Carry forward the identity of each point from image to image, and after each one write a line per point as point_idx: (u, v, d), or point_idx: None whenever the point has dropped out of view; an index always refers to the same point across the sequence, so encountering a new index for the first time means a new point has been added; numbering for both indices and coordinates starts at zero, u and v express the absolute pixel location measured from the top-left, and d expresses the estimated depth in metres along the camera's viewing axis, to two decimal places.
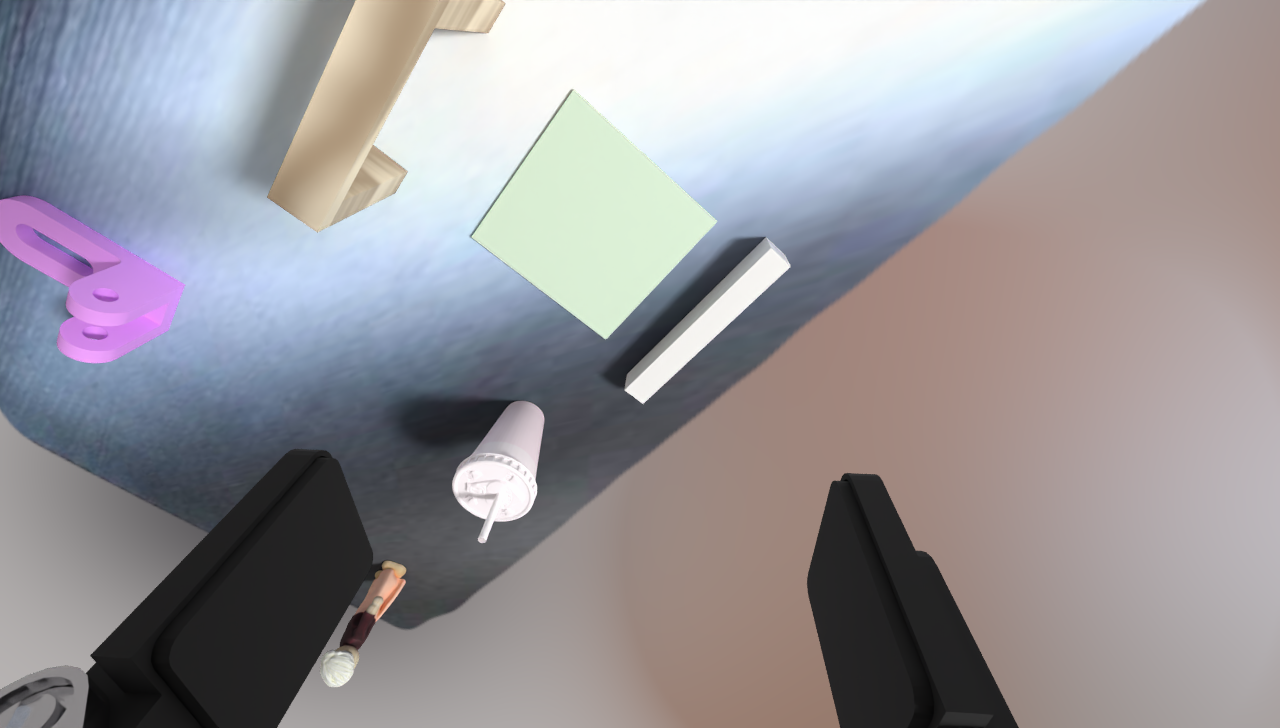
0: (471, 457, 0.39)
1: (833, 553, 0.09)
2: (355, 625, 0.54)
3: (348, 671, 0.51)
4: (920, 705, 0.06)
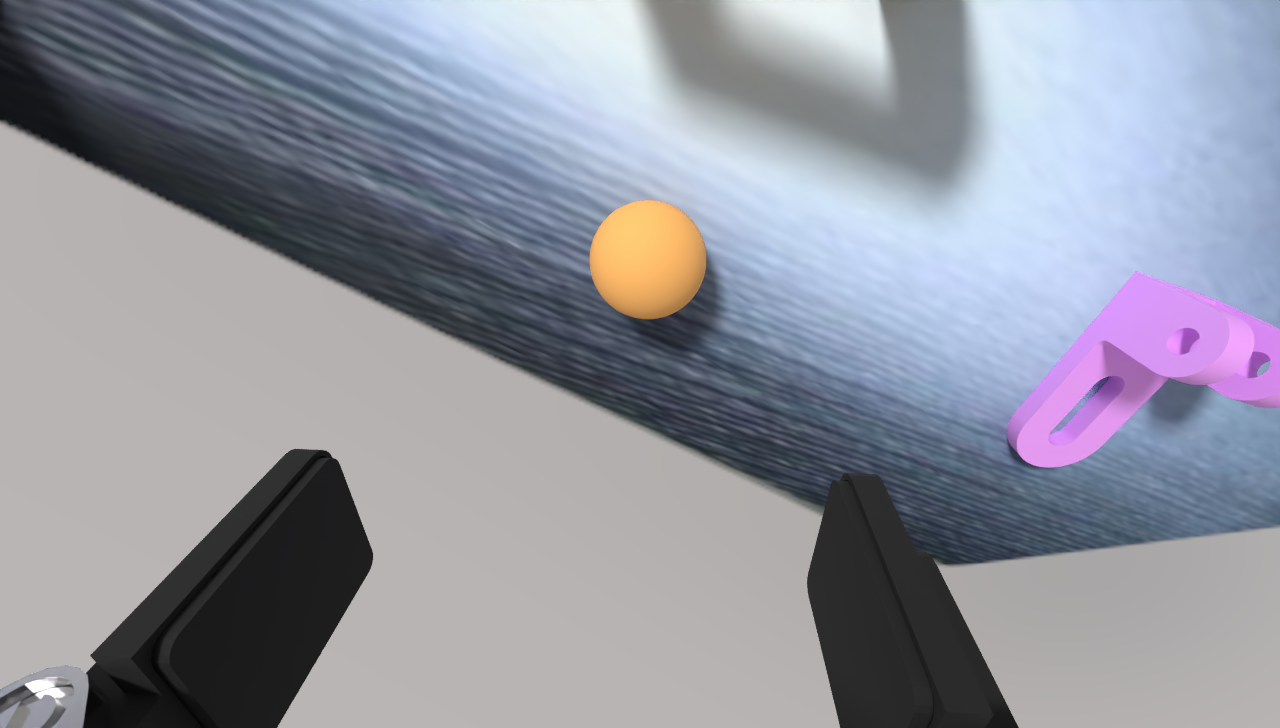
0: None
1: (833, 553, 0.09)
2: None
3: None
4: (920, 705, 0.06)
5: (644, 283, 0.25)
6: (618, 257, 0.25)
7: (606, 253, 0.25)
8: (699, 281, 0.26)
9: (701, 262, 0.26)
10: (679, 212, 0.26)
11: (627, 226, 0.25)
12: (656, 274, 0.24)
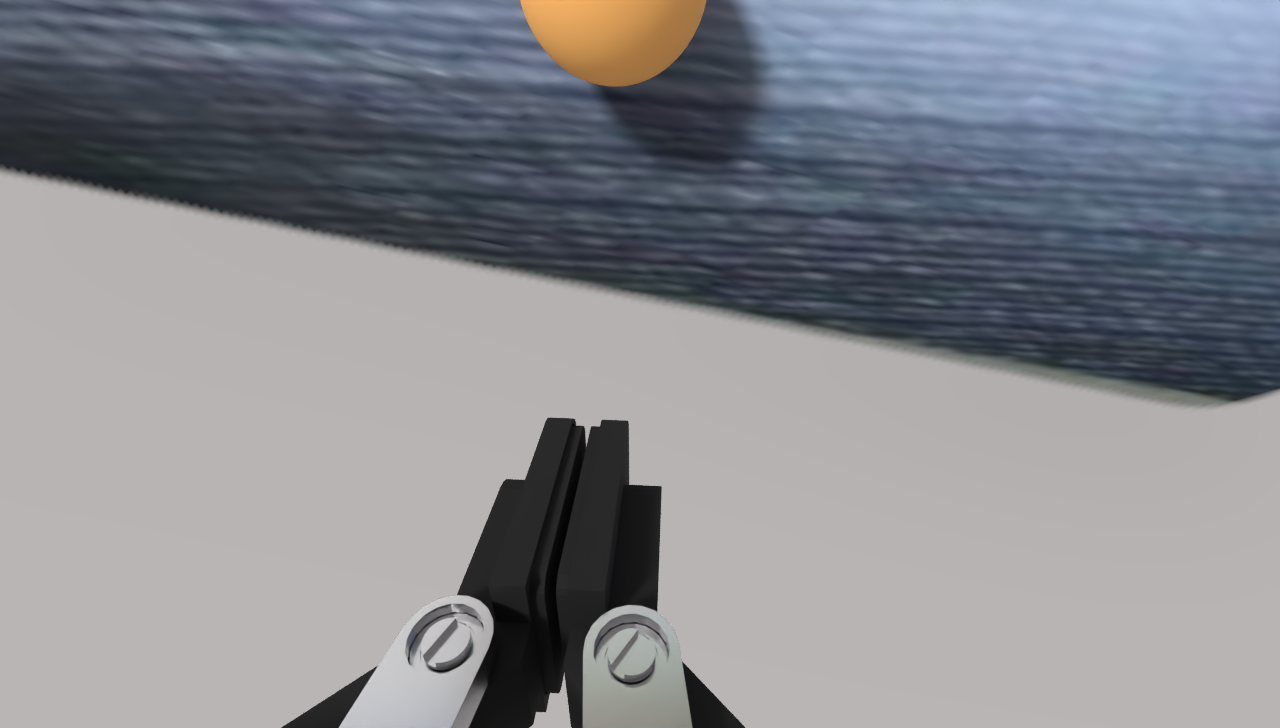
0: None
1: None
2: None
3: None
4: (561, 589, 0.07)
5: None
6: None
7: None
8: None
9: None
10: None
11: None
12: None
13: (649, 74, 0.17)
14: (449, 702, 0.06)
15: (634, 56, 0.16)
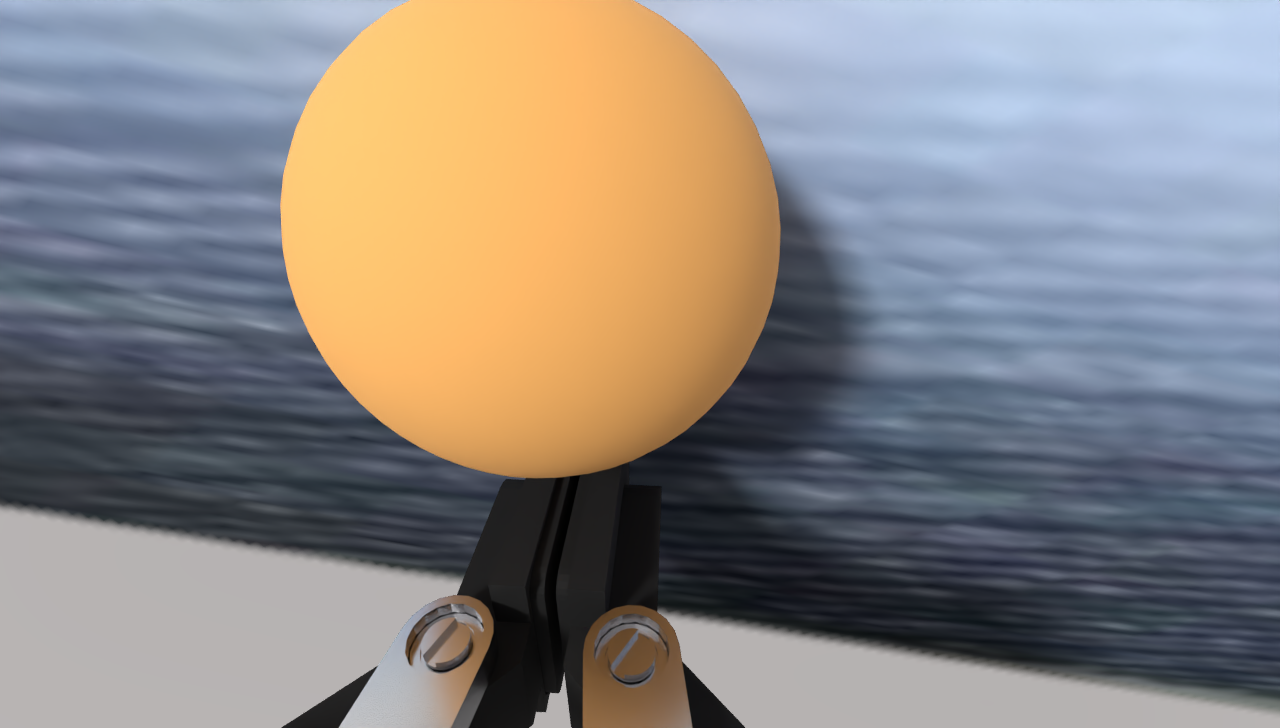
0: None
1: None
2: None
3: None
4: (561, 589, 0.07)
5: (470, 367, 0.05)
6: (315, 278, 0.05)
7: (291, 277, 0.05)
8: (766, 261, 0.06)
9: (744, 167, 0.05)
10: None
11: (315, 111, 0.05)
12: (506, 301, 0.04)
13: None
14: (449, 700, 0.06)
15: (596, 470, 0.06)
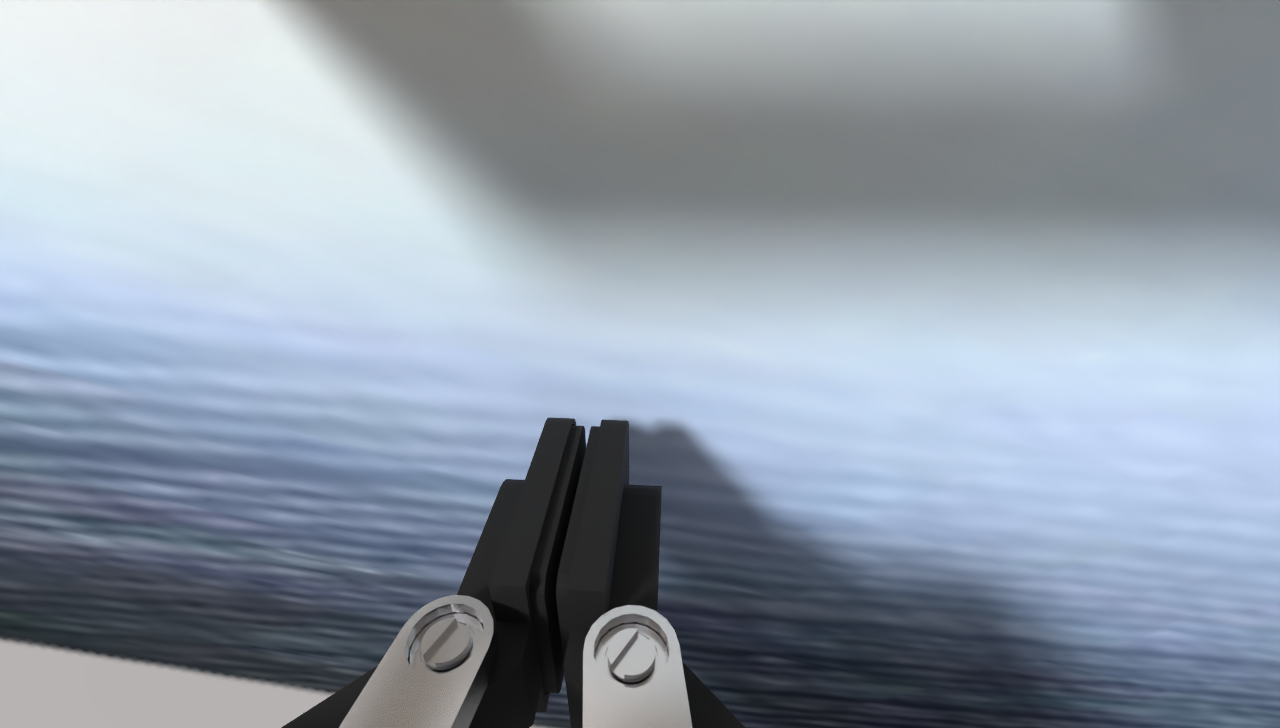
0: None
1: None
2: None
3: None
4: (561, 589, 0.07)
5: None
6: None
7: None
8: None
9: None
10: None
11: None
12: None
13: None
14: (449, 702, 0.06)
15: None
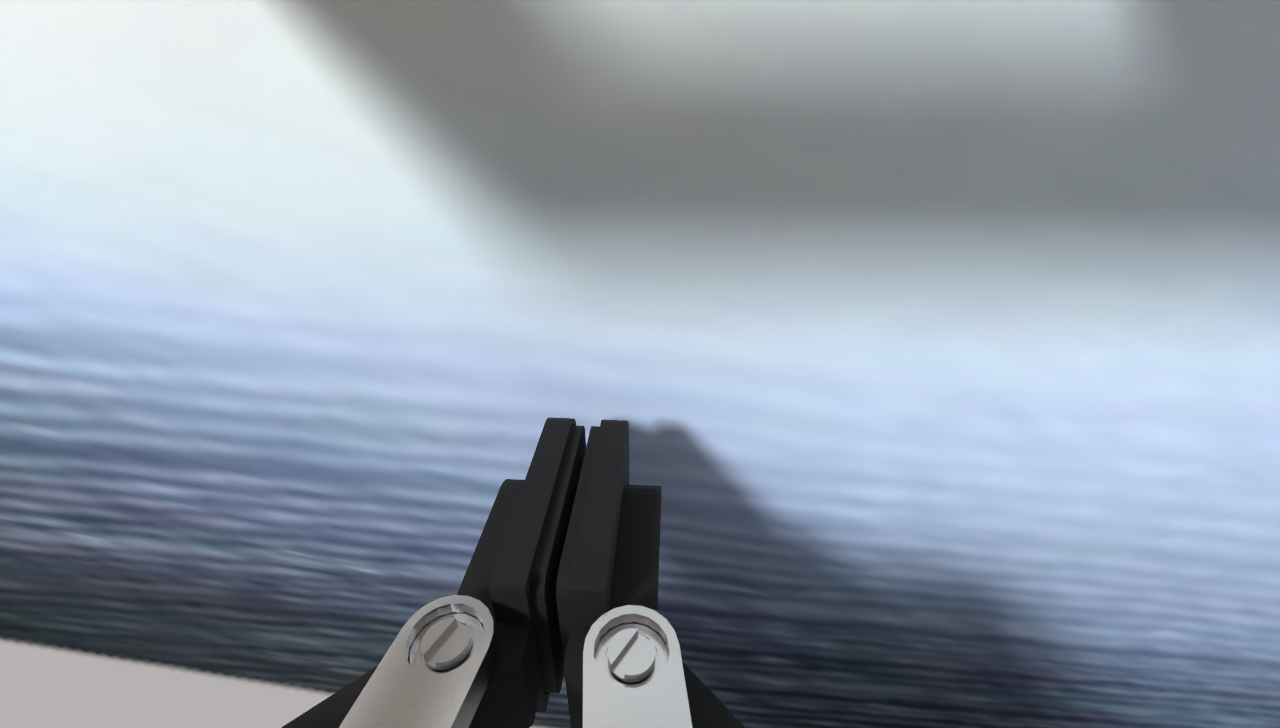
0: None
1: None
2: None
3: None
4: (561, 589, 0.07)
5: None
6: None
7: None
8: None
9: None
10: None
11: None
12: None
13: None
14: (449, 702, 0.06)
15: None
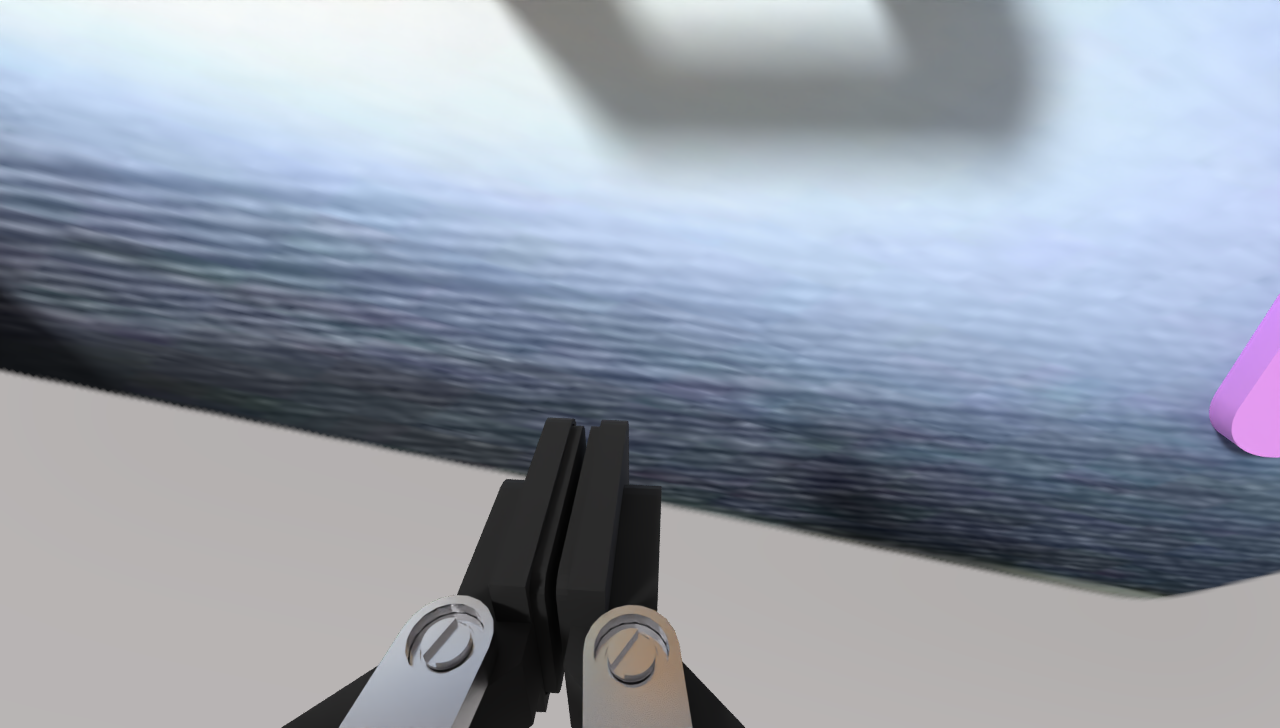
0: None
1: None
2: None
3: None
4: (561, 589, 0.07)
5: None
6: None
7: None
8: None
9: None
10: None
11: None
12: None
13: None
14: (450, 702, 0.06)
15: None
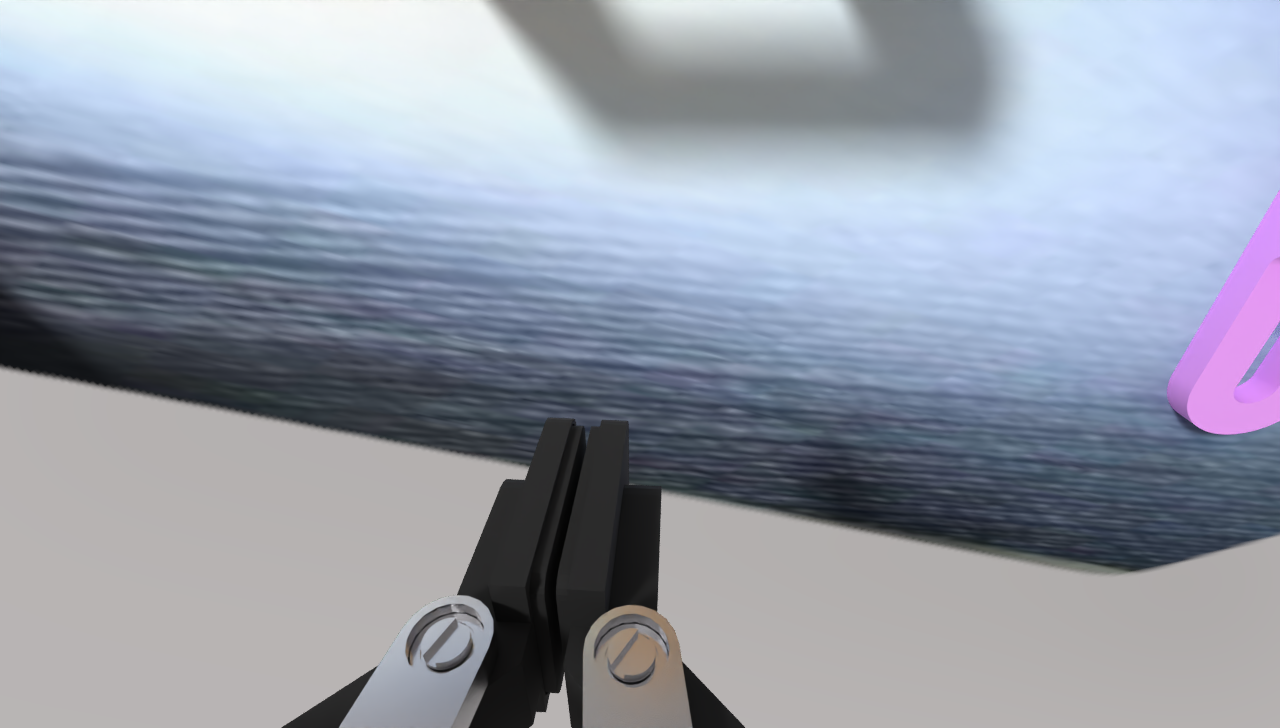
0: None
1: None
2: None
3: None
4: (561, 589, 0.07)
5: None
6: None
7: None
8: None
9: None
10: None
11: None
12: None
13: None
14: (449, 701, 0.06)
15: None
